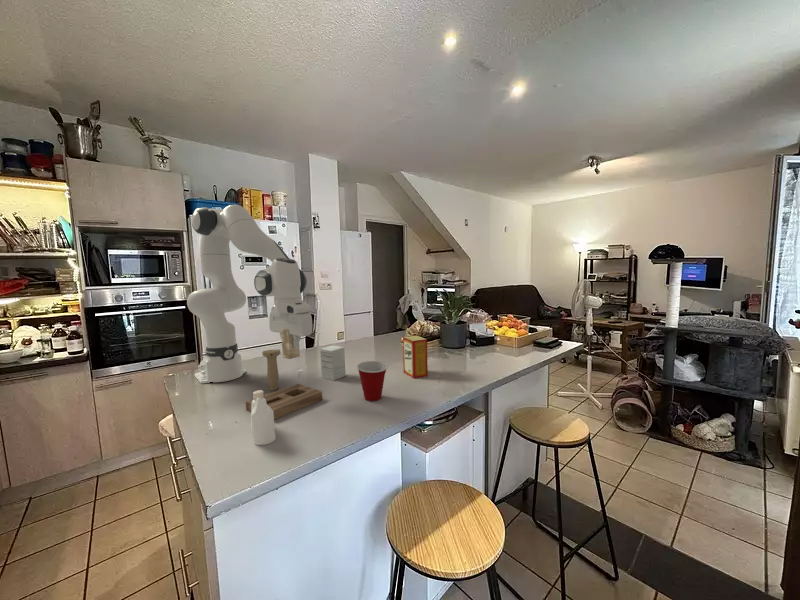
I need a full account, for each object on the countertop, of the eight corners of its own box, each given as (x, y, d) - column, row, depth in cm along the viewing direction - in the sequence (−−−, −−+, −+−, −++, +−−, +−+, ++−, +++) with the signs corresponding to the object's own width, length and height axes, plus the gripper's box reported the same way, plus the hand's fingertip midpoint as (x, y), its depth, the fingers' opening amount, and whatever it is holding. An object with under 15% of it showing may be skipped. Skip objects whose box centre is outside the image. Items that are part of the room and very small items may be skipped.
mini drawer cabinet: (334, 373, 144) (332, 345, 143) (346, 376, 140) (344, 347, 139) (321, 377, 139) (319, 348, 137) (333, 381, 134) (331, 350, 133)
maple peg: (282, 357, 112) (281, 328, 111) (293, 354, 115) (291, 326, 114) (289, 359, 110) (287, 329, 109) (299, 356, 113) (298, 327, 112)
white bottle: (250, 434, 91) (247, 396, 90) (250, 426, 96) (247, 390, 95) (271, 430, 93) (268, 393, 92) (270, 422, 98) (268, 387, 97)
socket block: (246, 410, 107) (245, 401, 107) (298, 391, 123) (297, 383, 123) (269, 421, 99) (269, 411, 99) (322, 399, 115) (322, 391, 114)
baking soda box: (403, 372, 143) (402, 336, 142) (416, 370, 146) (416, 334, 144) (413, 378, 135) (413, 340, 133) (427, 376, 137) (426, 338, 136)
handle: (282, 390, 125) (280, 351, 124) (264, 392, 123) (262, 353, 121) (282, 386, 130) (280, 348, 128) (264, 388, 127) (262, 350, 126)
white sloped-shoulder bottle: (277, 394, 88) (261, 402, 83) (280, 437, 89) (264, 447, 84) (261, 391, 91) (244, 399, 85) (263, 433, 92) (247, 443, 87)
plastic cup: (372, 407, 107) (371, 371, 106) (351, 399, 114) (350, 365, 113) (395, 397, 115) (394, 364, 114) (374, 390, 122) (373, 358, 121)
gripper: (263, 306, 115) (265, 345, 116) (298, 308, 102) (300, 352, 103) (279, 304, 120) (281, 341, 121) (314, 306, 107) (317, 348, 108)
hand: (290, 346), depth 112 cm, fingers closed on maple peg, 4 cm apart
